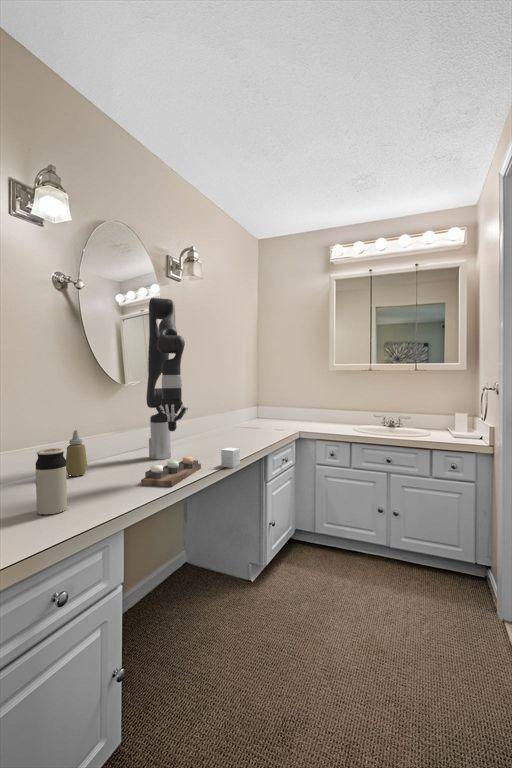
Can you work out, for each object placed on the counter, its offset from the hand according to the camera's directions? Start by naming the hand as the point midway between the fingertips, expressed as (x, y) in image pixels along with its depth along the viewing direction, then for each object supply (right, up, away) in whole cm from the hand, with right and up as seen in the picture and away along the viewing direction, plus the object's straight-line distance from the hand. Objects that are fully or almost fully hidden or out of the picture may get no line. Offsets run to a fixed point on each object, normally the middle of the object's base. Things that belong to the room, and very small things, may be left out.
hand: (172, 431), depth 156 cm
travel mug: (-27, -19, -38) cm, 51 cm away
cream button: (-4, -15, -7) cm, 17 cm away
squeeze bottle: (-39, -18, +4) cm, 43 cm away
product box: (+22, -17, +17) cm, 32 cm away
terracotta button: (+5, -15, +7) cm, 17 cm away
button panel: (0, -18, 0) cm, 18 cm away
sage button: (0, -15, 0) cm, 15 cm away
